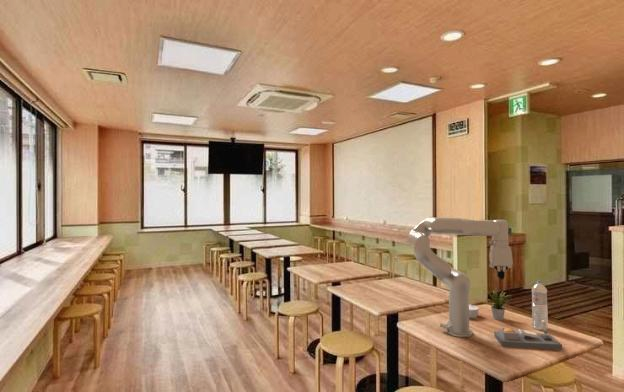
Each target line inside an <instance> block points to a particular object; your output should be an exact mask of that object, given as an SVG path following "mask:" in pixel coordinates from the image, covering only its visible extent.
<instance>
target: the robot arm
mask: <svg viewBox="0 0 624 392" xmlns="http://www.w3.org/2000/svg"><path fill="white" fill-rule="evenodd" d="M432 234H434V235H457V236H459V235H460V236H482V237H485V236H486V237H491V240H489V241H488V244H489V245H490V248H489V255H488V258H489V259H488V261H489V265H488V267H489V268H492V269H495V270H496V275H497V278H498V279H499V280H504V278H505V272H506V270H508V269H512V268H513V263H514V262H513V253H512V252H513V251H512V248H511V246H510V245H509V222H508V221H507V220H506V219H493V220H492V219H479V220H474V219H467V218H460V217H455V218H454V217H435V216H428V217H426V218H424V219H423V220H422V221H421V222H419V223H418V224H417V225H416V226H415V227H414V228H413V229H411V231H409V232H408V234H407V237H406V239H407V240H406V241H407V243H408V244H409V245H410V246H411V247H413V253H414V256H415V259H416V260H417V261H418V263H419V264H421V266H423V267H425V269H426V270H427V271H428V273H430V274H431V275H432V276H434V278H436V279H438V280H439V281H440V282H442V283H443V284H445V285H447V286H448V287H449V291H448V292H449V294H448V313H449V314H448V316H449V318H448V319H449V321H447V322H446V323H439V327H440V328H442V329H443V330H446V333H447V334H449V335H451V336H452V337H453V336H454V337H456V338H469V337H472V336H473V333H474V331H473V330H472V329H471V328H470V318H469V304H470V303H469V302H470V300H469V299H470V298H469V295H470V288H471V280H470V277H468V276H467V274H465V273H464V272H462V271H460V270H458V269H456V268H454V267H452V266H451V265H450V264H449V262H447V261H446V260H445V259H443V258H442V257H440V256H438V255H437V254H436V253H435V252H434V251H432V249H431V241H430V237H429V236H430V235H432Z"/></svg>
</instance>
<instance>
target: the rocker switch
mask: <svg viewBox="0 0 624 392" xmlns="http://www.w3.org/2000/svg"><path fill="white" fill-rule="evenodd" d="M517 332H519V333H520V334H521V335H526V336H531V337H535V338H537V337H538V335H537V334H536V333H537V332H534V331H532V330H526V329H521V328H518V329H517Z"/></svg>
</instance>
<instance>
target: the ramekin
mask: <svg viewBox="0 0 624 392" xmlns="http://www.w3.org/2000/svg"><path fill="white" fill-rule="evenodd" d="M479 311H480V308H479V307H478V306H477V305H474V304H471V303H469V319H476V318H477V317H478V315H479Z"/></svg>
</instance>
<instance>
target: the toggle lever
mask: <svg viewBox="0 0 624 392" xmlns="http://www.w3.org/2000/svg"><path fill="white" fill-rule="evenodd" d="M541 323H542V324H543V328H544V330H543V334H544V335H545V336H548V334H549V333H548V329H546V321H545V320H542V321H541Z"/></svg>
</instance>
